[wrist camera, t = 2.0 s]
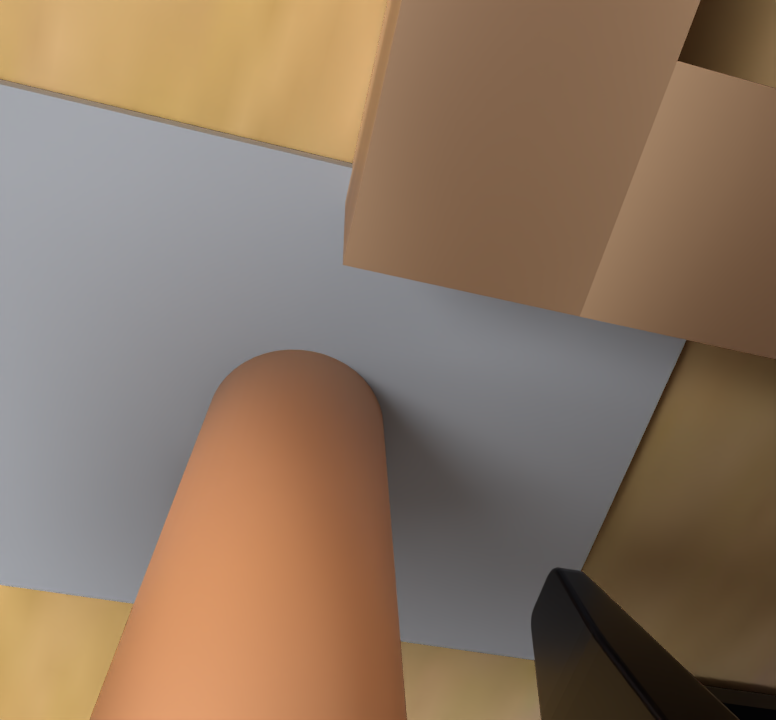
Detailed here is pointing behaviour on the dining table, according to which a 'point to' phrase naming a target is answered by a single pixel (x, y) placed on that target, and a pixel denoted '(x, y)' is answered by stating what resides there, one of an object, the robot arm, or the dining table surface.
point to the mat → (273, 333)
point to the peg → (271, 561)
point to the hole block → (569, 166)
